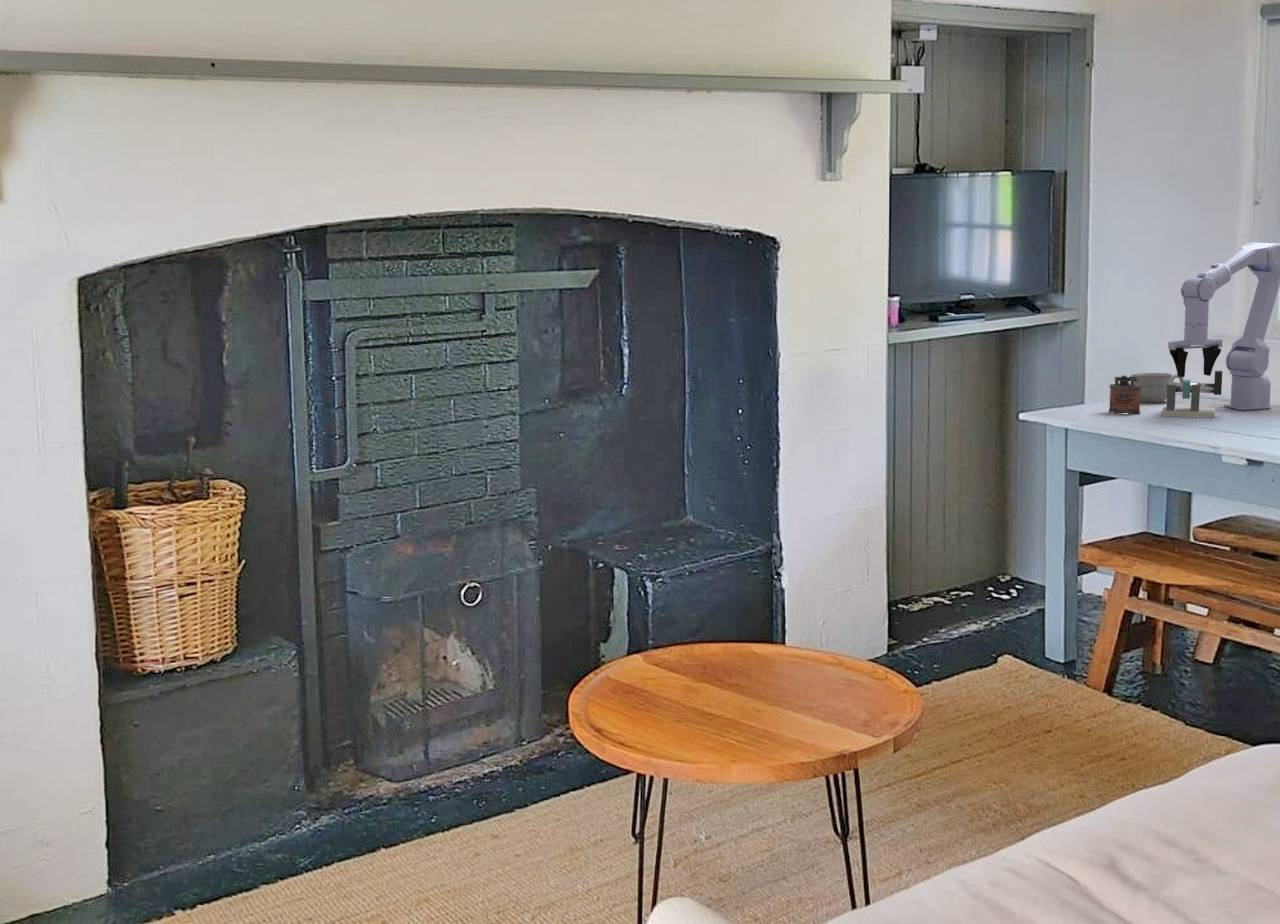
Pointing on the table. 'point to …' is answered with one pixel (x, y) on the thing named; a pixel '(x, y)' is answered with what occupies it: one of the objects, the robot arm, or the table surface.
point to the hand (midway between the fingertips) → (1194, 376)
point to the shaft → (1204, 385)
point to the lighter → (1125, 395)
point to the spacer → (1186, 389)
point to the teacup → (1154, 385)
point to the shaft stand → (1186, 411)
